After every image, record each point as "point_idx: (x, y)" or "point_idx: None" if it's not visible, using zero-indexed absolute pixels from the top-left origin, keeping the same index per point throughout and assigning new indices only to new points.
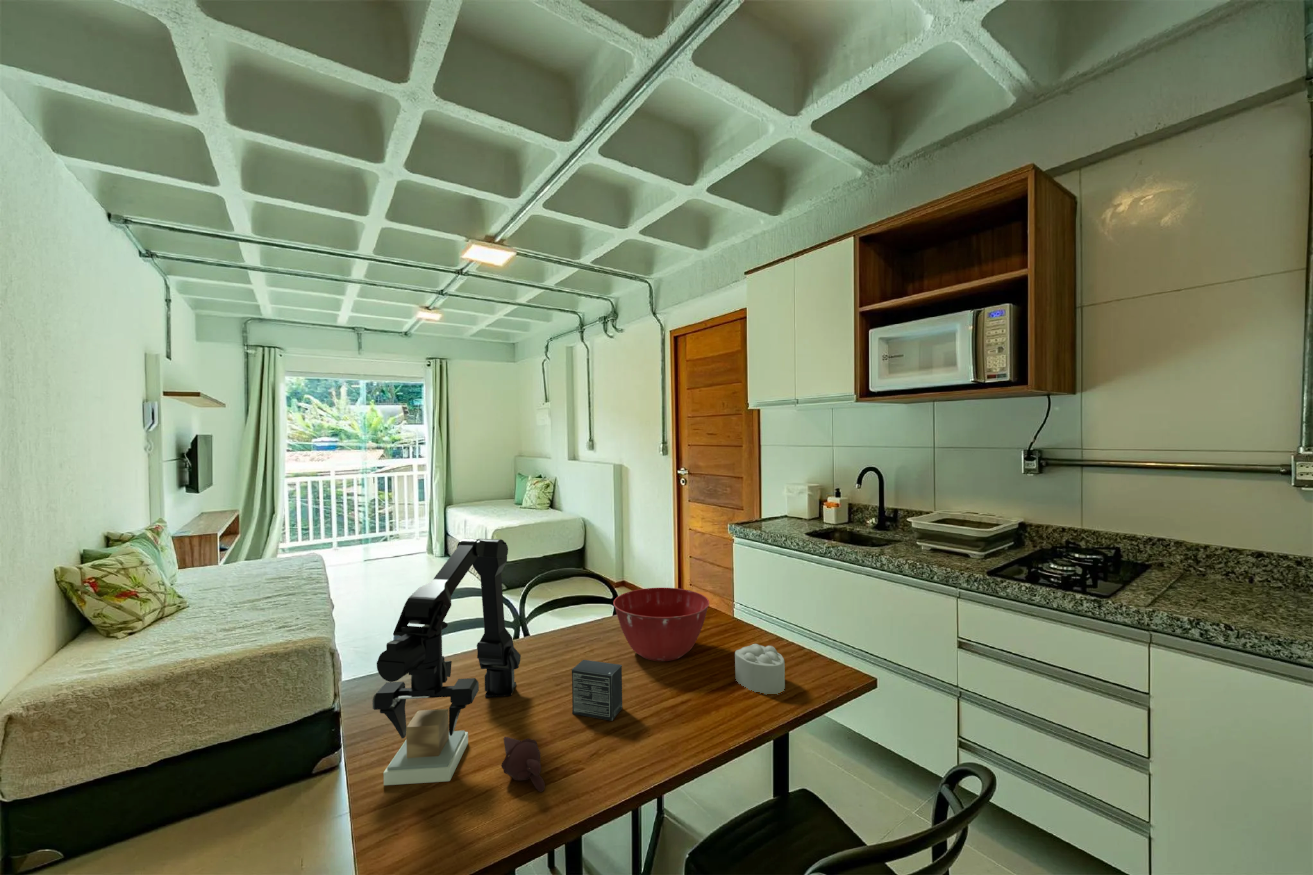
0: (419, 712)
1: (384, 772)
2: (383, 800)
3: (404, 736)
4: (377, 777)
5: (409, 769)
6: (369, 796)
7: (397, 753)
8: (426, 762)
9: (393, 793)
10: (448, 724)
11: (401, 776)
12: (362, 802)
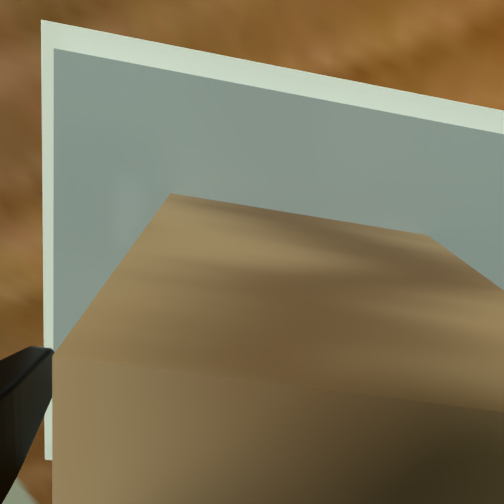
0: (117, 440)
1: (51, 458)
2: None
3: (49, 386)
4: (9, 336)
5: None
6: (40, 456)
7: (57, 344)
8: None
9: None
10: (498, 291)
11: None
12: (27, 482)
